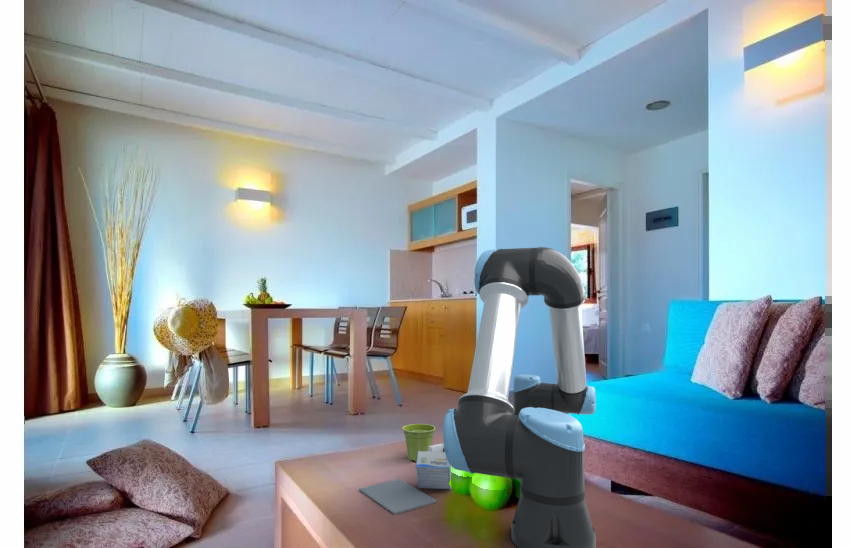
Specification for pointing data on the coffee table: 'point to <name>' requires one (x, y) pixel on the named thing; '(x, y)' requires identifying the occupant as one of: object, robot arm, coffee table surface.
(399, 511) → the mat
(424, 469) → the medicine box
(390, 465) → the coffee table surface
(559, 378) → the robot arm
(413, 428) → the plant pot
